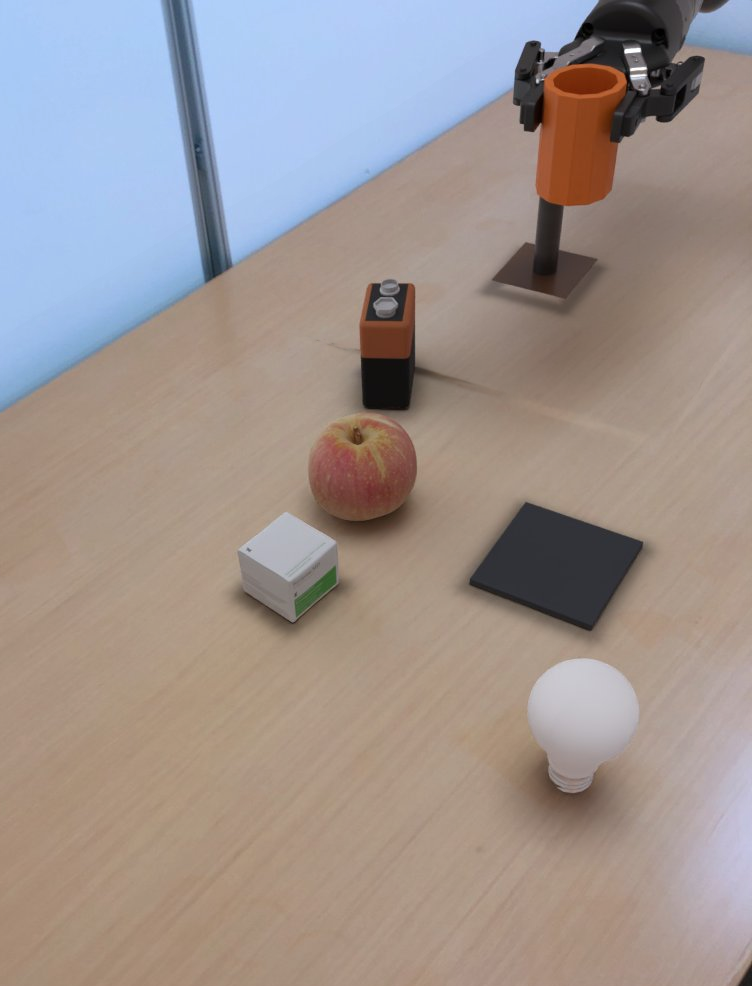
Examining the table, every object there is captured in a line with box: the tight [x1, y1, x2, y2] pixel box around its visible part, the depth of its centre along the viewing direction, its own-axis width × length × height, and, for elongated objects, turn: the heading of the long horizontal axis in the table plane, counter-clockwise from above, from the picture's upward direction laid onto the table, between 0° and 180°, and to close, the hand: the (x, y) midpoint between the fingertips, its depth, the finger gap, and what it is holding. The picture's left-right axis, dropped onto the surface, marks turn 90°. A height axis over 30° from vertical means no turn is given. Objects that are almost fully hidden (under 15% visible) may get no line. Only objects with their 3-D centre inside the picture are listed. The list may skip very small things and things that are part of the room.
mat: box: [469, 501, 644, 631], centre depth 86 cm, size 10×10×1 cm
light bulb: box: [526, 657, 640, 794], centre depth 69 cm, size 7×7×11 cm
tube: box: [534, 64, 627, 207], centre depth 82 cm, size 6×6×8 cm
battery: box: [358, 278, 416, 410], centre depth 99 cm, size 4×7×10 cm, turn 170°
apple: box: [307, 412, 418, 522], centre depth 90 cm, size 9×9×8 cm
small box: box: [237, 511, 340, 623], centre depth 85 cm, size 6×6×5 cm
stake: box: [491, 195, 599, 300], centre depth 106 cm, size 8×8×16 cm
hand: (572, 123), depth 79 cm, fingers closed on tube, 5 cm apart
